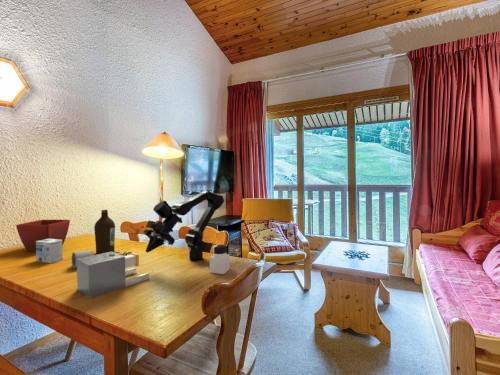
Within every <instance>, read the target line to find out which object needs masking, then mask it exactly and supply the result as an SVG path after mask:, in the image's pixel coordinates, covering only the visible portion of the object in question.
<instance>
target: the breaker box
mask: <svg viewBox="0 0 500 375" xmlns="http://www.w3.org/2000/svg"><path fill="white" fill-rule="evenodd" d="M124 256H125V255H122V254H120V253H117V252H115V251H114V252H107V253H102V254H94V255H93V256H88V257H83V258H78V259H77V268H76V280H77V281H76V283H77V284H76V285H77V288H76V289H77V290H78V291H79V292H80V293H82V294H83V295H84V296H85V297H86V298H88V299H92V298H94V297H97V296H100V295H101V296H102V295H104V294H107V293H110V292H113V291H116V290H119V289H122V288H125V287H128V286H131V285H134V284H137V283H141V282H144V281H146V280H149V279H150V273H149V272H146V273H142V274H139V275H137V276H133V277H129V278H127V279H126V277H127V276H130V275H131V276H132V275H134V274H137V267H132V268H128V269H126V268H125V257H124Z"/></svg>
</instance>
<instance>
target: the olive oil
mask: <svg viewBox="0 0 500 375" xmlns="http://www.w3.org/2000/svg"><path fill="white" fill-rule="evenodd" d="M100 216H101V217H99V218H98V220H97V221H96V222H95V223H94V227H93V228H94V238H95V240H94V241H95V242H94V243H95V253H96V254H95V255H97V254H102V253H107V252H114V253H115V244H116V242H115V241H116V240H115V239H116V237H115V236H116V224H115V221H114V220H113V219H112V218H110V217H109V212H108V209H101V213H100Z"/></svg>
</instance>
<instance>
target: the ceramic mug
mask: <svg viewBox="0 0 500 375" xmlns="http://www.w3.org/2000/svg"><path fill="white" fill-rule="evenodd" d="M93 255H95V254H94V252H93V251H92V250H79V251H73V252H72V254H71V265H72V268H73V269H77V259H78V258H83V257H88V256H93Z"/></svg>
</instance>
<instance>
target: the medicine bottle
mask: <svg viewBox="0 0 500 375" xmlns="http://www.w3.org/2000/svg"><path fill="white" fill-rule="evenodd" d="M212 253H213V254H212V255H211V256H209V273H211V274H220V275H224V274H226V273H227V272H228V271H229V270H230V269H231V268H230V267H231V266H230V264H231V262H230V260H231V259H230V258H231V256H230V254H228V253H227V246H226V245H224V244H222V243H220V244H215V245H214V246H213V247H212Z"/></svg>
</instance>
